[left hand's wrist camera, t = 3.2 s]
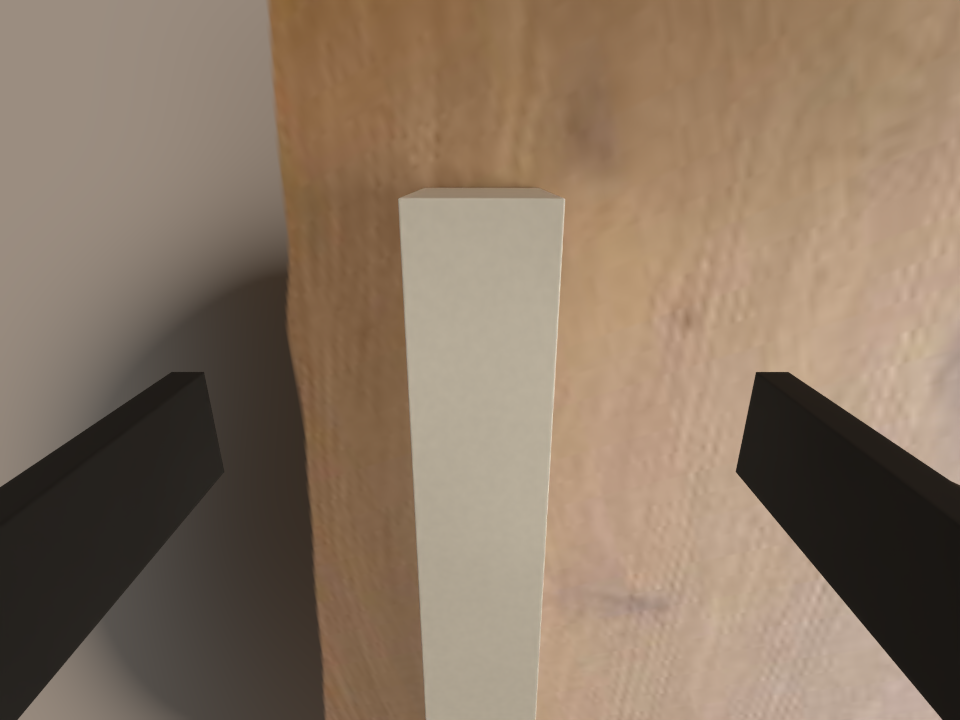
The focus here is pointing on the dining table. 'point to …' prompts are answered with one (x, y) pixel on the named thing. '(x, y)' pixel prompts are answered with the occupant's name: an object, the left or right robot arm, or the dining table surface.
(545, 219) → the bar
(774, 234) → the dining table surface
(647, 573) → the dining table surface
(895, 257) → the dining table surface
